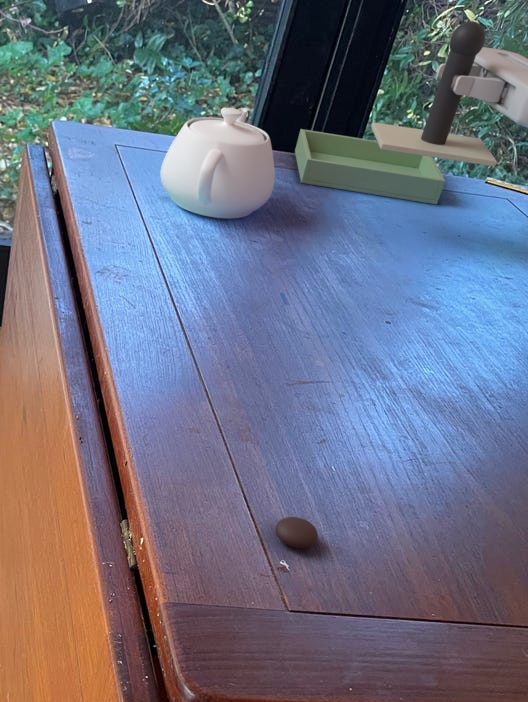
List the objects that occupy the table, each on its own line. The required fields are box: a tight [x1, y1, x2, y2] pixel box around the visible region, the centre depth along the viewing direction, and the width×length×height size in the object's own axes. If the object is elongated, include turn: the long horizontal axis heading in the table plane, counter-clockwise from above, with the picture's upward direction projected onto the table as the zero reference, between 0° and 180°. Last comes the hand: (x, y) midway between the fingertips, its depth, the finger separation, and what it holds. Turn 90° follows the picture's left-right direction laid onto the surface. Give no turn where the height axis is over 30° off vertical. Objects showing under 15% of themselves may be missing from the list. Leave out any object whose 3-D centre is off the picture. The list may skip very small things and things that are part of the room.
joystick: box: [370, 20, 498, 167], centre depth 111 cm, size 13×9×13 cm
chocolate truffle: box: [274, 516, 318, 549], centre depth 70 cm, size 3×3×2 cm
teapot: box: [159, 107, 276, 219], centre depth 118 cm, size 22×14×11 cm, turn 162°
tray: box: [294, 128, 446, 205], centre depth 136 cm, size 18×14×3 cm
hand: (446, 78), depth 111 cm, fingers closed on joystick, 3 cm apart
